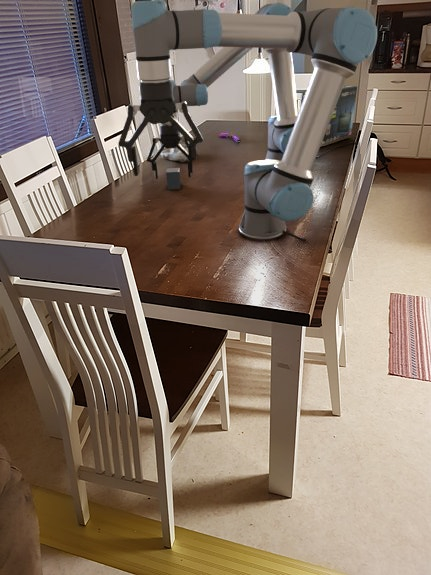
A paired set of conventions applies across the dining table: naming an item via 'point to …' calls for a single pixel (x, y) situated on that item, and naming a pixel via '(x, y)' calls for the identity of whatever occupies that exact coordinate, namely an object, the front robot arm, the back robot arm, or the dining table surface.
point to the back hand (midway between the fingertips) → (173, 177)
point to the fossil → (176, 154)
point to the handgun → (232, 138)
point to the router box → (341, 115)
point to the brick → (173, 178)
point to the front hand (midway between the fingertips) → (163, 172)
